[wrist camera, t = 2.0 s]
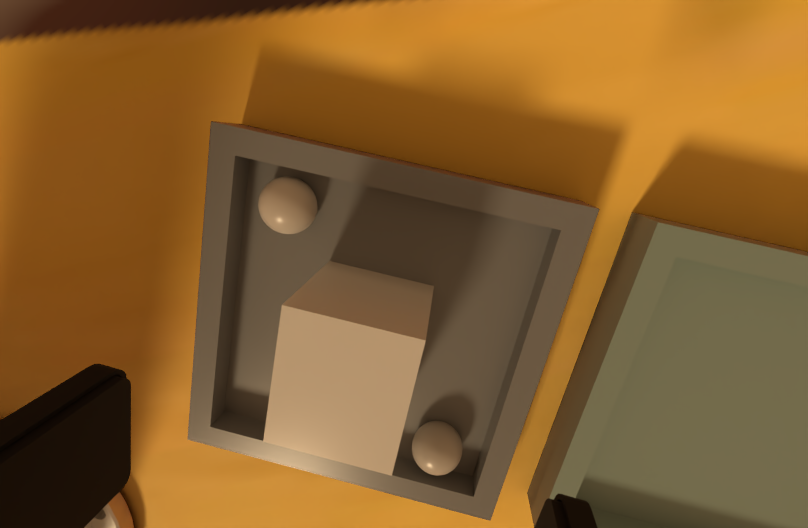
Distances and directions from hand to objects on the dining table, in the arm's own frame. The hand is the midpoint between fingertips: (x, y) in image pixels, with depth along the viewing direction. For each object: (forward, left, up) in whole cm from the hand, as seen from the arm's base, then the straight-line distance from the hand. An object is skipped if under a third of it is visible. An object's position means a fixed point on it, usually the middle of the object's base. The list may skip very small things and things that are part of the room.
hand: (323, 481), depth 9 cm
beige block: (-1, +1, -9) cm, 9 cm away
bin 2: (-1, -15, -10) cm, 18 cm away
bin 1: (-1, +1, -10) cm, 10 cm away
